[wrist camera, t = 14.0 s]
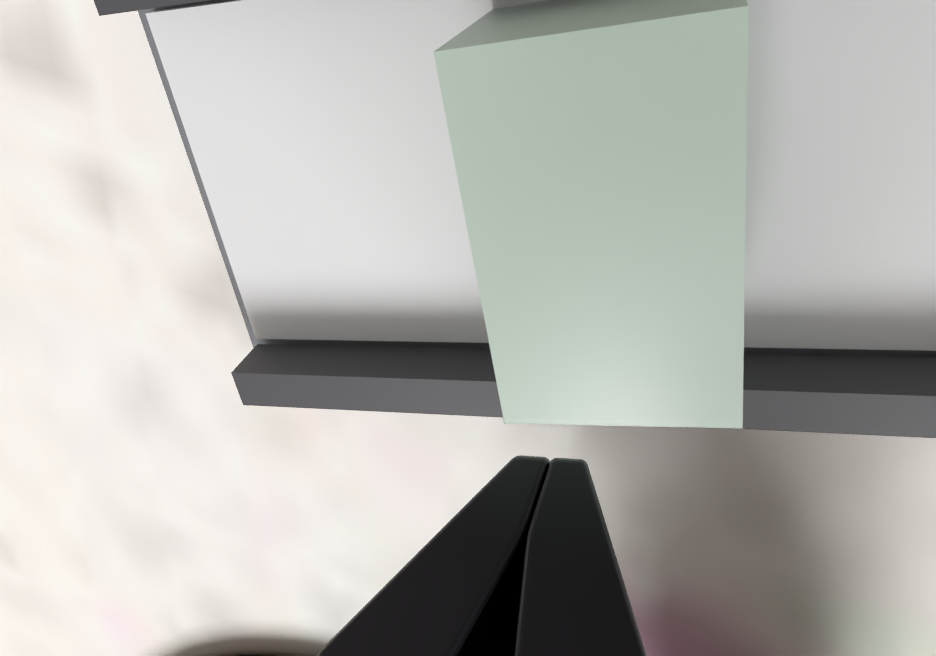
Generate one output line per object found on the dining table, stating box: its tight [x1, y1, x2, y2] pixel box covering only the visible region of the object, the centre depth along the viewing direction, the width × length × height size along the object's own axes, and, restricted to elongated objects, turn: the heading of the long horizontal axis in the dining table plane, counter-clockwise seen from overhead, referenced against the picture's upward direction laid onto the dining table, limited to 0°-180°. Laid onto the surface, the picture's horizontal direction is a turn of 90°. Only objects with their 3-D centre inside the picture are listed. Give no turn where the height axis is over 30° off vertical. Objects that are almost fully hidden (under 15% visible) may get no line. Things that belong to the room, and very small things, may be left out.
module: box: [434, 0, 749, 428], centre depth 15 cm, size 8×5×4 cm, turn 10°
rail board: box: [94, 0, 936, 438], centre depth 17 cm, size 13×24×3 cm, turn 98°
